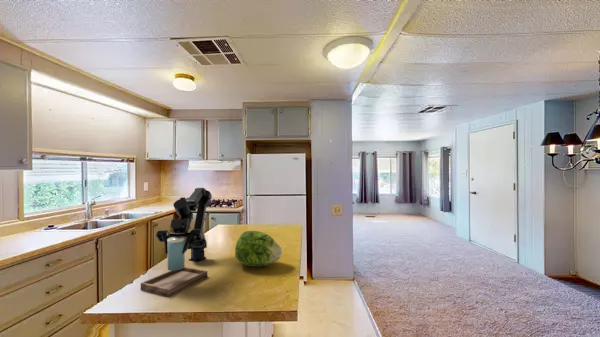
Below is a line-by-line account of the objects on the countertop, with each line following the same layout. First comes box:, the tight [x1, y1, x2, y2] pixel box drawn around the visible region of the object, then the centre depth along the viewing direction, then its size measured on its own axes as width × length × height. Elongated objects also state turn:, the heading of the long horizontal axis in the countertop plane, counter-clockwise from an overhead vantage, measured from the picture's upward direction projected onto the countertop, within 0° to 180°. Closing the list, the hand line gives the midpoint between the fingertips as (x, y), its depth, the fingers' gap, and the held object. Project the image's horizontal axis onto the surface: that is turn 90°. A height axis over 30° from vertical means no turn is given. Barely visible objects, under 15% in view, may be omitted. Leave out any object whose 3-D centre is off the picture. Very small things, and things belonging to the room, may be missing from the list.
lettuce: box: [234, 230, 282, 267], centre depth 128 cm, size 17×23×17 cm
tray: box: [140, 266, 208, 298], centre depth 108 cm, size 16×20×2 cm
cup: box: [166, 236, 186, 271], centre depth 108 cm, size 7×7×12 cm
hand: (174, 253), depth 106 cm, fingers closed on cup, 7 cm apart
